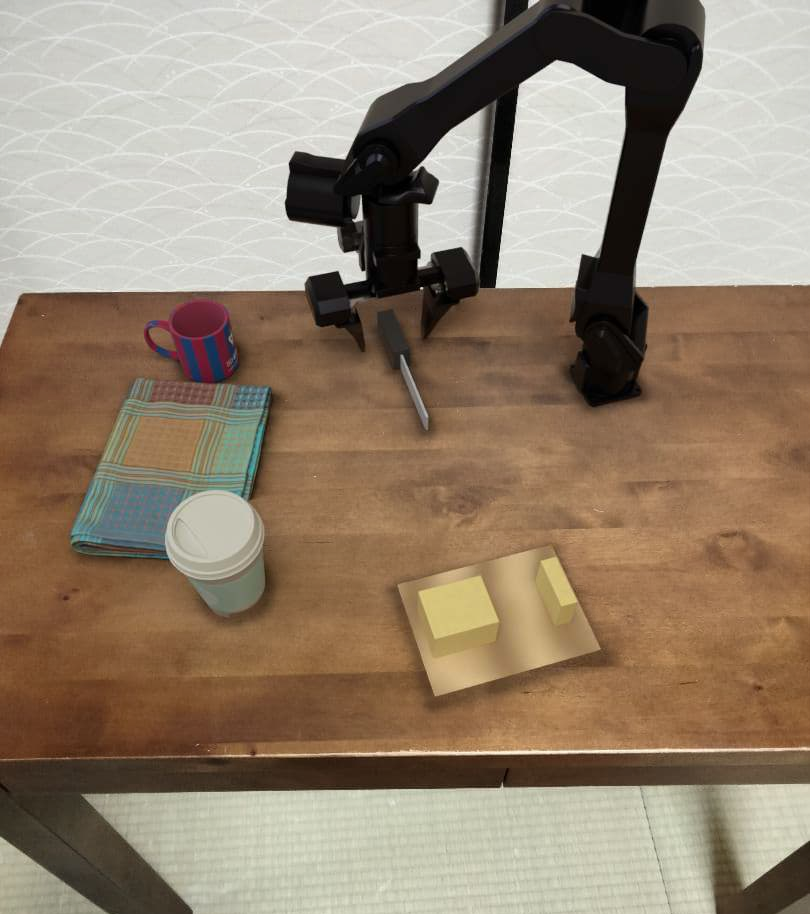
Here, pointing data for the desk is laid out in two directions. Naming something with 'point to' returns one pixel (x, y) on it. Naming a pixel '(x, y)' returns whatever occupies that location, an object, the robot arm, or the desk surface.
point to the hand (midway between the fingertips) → (393, 343)
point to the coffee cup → (219, 549)
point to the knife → (399, 355)
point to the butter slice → (555, 591)
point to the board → (502, 624)
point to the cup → (199, 340)
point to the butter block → (457, 616)
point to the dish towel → (169, 461)
